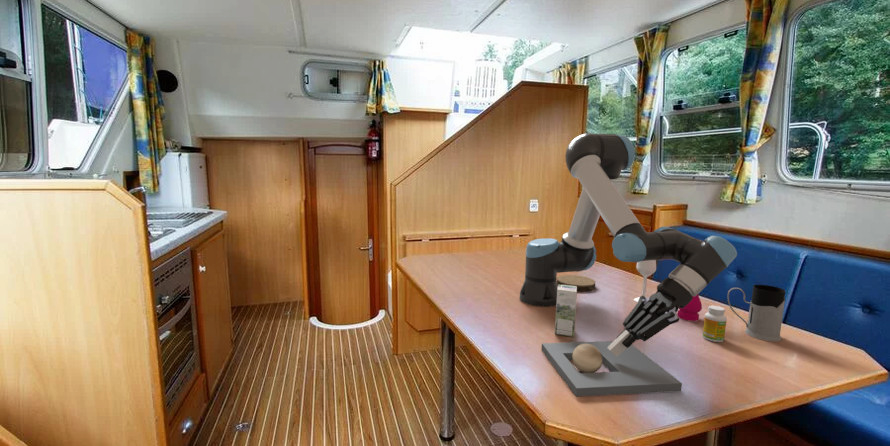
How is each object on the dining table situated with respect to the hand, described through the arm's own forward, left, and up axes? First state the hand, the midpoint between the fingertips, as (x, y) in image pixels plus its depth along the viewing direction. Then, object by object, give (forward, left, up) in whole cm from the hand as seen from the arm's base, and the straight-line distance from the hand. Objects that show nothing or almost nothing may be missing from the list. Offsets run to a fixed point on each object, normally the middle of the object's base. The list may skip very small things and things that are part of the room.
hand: (611, 352), depth 97 cm
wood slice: (-27, +66, -5) cm, 71 cm away
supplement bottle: (+22, +37, -5) cm, 43 cm away
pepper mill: (+15, +52, -5) cm, 54 cm away
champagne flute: (0, +62, -5) cm, 62 cm away
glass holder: (+32, +49, -5) cm, 58 cm away
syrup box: (-16, +15, -5) cm, 23 cm away
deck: (-1, -1, -4) cm, 5 cm away
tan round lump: (-5, -5, -1) cm, 7 cm away
